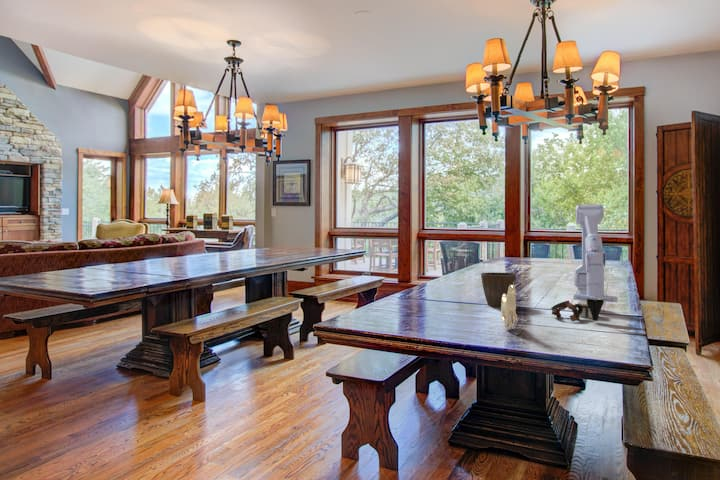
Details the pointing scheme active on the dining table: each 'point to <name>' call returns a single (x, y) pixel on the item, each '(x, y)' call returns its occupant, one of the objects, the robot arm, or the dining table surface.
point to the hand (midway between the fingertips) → (595, 320)
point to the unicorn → (509, 307)
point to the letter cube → (585, 310)
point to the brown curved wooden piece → (565, 304)
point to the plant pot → (496, 286)
